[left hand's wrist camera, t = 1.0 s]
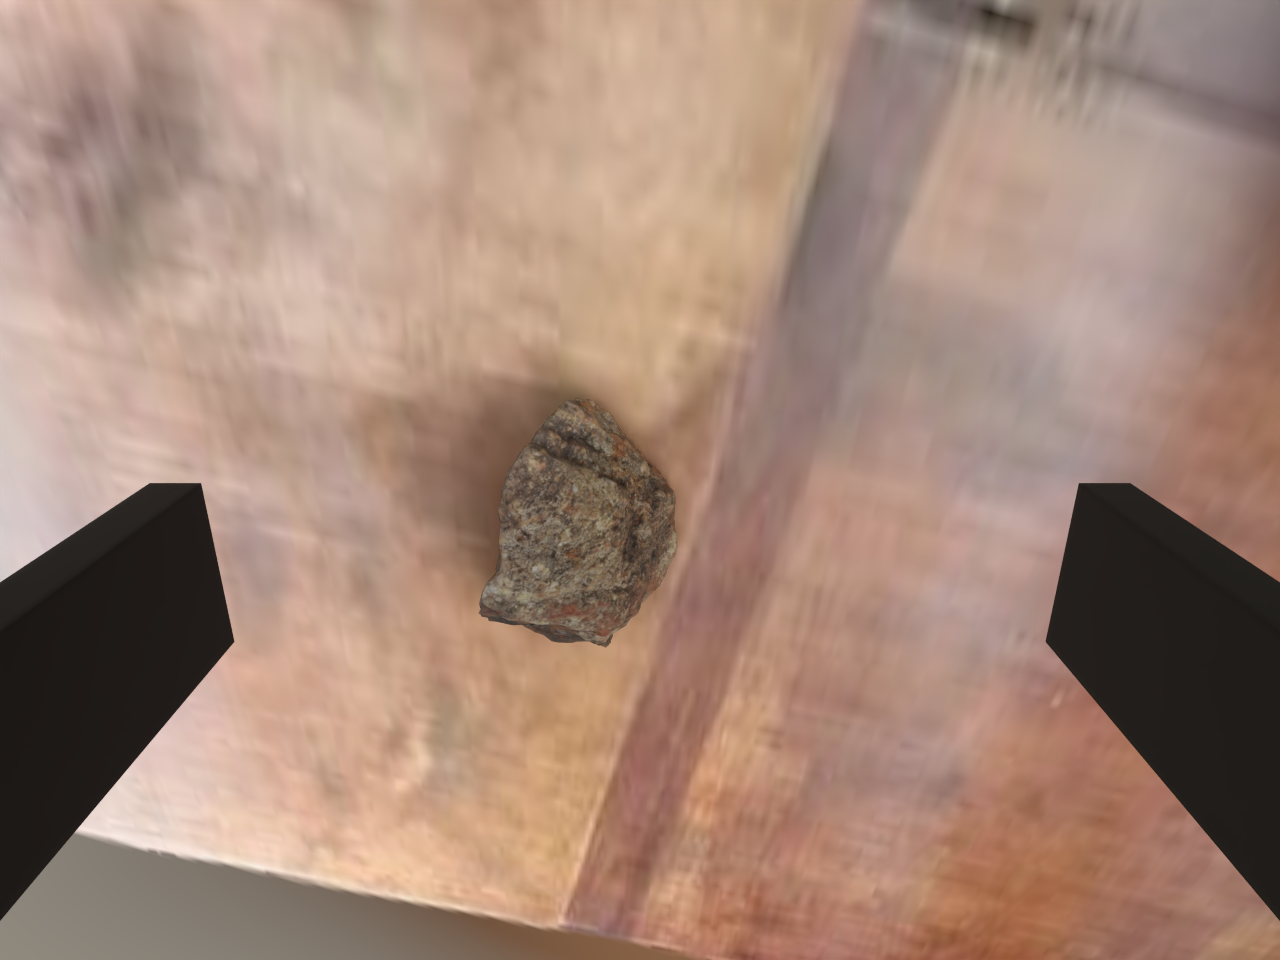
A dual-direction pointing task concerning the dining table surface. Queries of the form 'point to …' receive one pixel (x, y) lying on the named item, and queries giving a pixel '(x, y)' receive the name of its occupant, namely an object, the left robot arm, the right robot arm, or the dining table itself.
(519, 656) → the dining table surface
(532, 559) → the rock
